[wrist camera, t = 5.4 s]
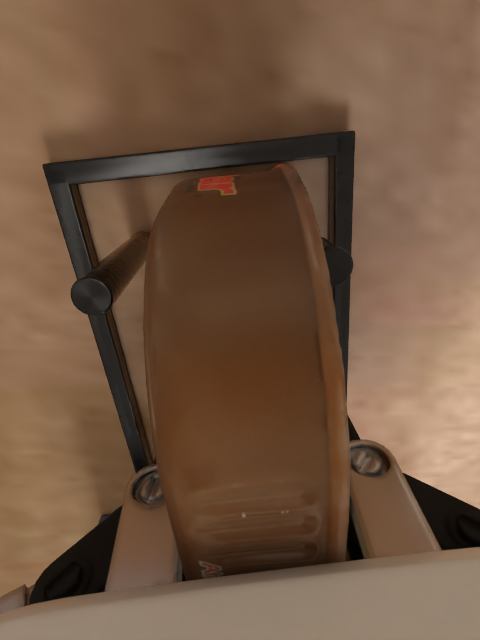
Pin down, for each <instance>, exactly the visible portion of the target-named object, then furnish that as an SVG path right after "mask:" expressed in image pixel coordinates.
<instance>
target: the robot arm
mask: <svg viewBox="0 0 480 640" xmlns="http://www.w3.org/2000/svg"><path fill="white" fill-rule="evenodd" d="M347 416H348V415H347ZM348 428H349V442H350V499H349V524H348V532H347V545H346V557H345V562H337V563H328V564H320V565H312V566H304V567H295V568H287V569H279V570H271V571H263V572H254V573H246V574H238V575H230V576H222V577H214V578H206V579H198V580H191V581H186V579H185V575H184V572H183V568H182V564H181V561H180V557H179V553H178V550H177V546H176V541H175V537H174V534H173V531H172V527H171V523H170V519H169V515H168V511H167V508H166V504H165V500H164V497H163V493H162V488H161V484H160V479H159V474H158V469H157V463H156V456H155V460H154V464H152V465H149V466H147V467H145V468H143V469H141V470H140V471H138V472H137V473H136V474H135V475H134V476H133V477H132V478H131V480H130V481H129V483H128V485H127V488H126V491H125V496H124V501H123V505H122V506H121V507H120V508H118V509H117V510H116V511H115V512H113V513H112V514H111V515H110V516H109V517H107V518H106V519H105V520H104V521H102V522H101V523H100V524H99V525H98V526H96V527H95V528H94V529H93V530H91V531H90V532H89V533H88V534H87V535H85V536H84V537H83V538H82V539H81V540H79V541H78V542H77V543H76V544H74V545H73V546H72V547H71V548H70V549H68V550H67V551H66V552H65V553H63V554H62V555H61V556H60V557H59V558H57V559H56V560H55V561H54V562H53V563H52V564H50V565H49V566H48V567H47V568H46V569H45V570H44V571H43V573H42V574H41V576H40V577H39V579H38V580H37V581H36V583H35V584H34V585H32V586H31V587H29V588H27V587H26V585H25V584H24V585H22V586H20V587H19V588H17V589H15V590H13V591H11V592H9V593H8V594H6V595H4V596H2V597H0V640H480V509H478V508H476V507H474V506H472V505H470V504H467V503H465V502H463V501H461V500H459V499H457V498H455V497H453V496H451V495H449V494H446V493H444V492H442V491H440V490H438V489H436V488H434V487H432V486H430V485H428V484H425V483H423V482H421V481H419V480H417V479H415V478H413V477H411V476H409V475H407V474H404V473H402V471H401V469H400V467H399V465H398V463H397V461H396V459H395V457H394V456H393V455H392V453H391V452H390V451H389V450H388V449H387V448H385V447H384V446H383V445H381V444H379V443H377V442H374V441H370V440H361V439H360V438H359V436H358V434H357V432H356V430H355V428H354V426H353V424H352V422H351V420H350V418H349V417H348Z"/></svg>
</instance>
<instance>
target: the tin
mask: <svg viewBox="0 0 480 640" xmlns="http://www.w3.org/2000/svg"><path fill="white" fill-rule="evenodd" d="M144 353H145V372H146V385H147V395H148V404H149V412H150V420H151V428H152V435H153V442H154V449H155V456H156V463H157V469H158V474H159V479H160V484H161V488H162V493H163V497H164V500H165V504H166V508H167V511H168V515H169V519H170V523H171V527H172V531H173V534H174V537H175V541H176V546H177V550H178V553H179V557H180V561H181V564H182V568H183V572H184V575H185V579H186V581H191V580H198V579H206V578H214V577H222V576H230V575H238V574H246V573H254V572H263V571H271V570H279V569H287V568H295V567H304V566H312V565H320V564H328V563H337V562H345V557H346V545H347V532H348V524H349V499H350V442H349V428H348V416H347V406H346V392H345V375H344V367H343V361H342V351H341V347H340V344H339V334H338V327H337V322H336V313H335V305H334V301H333V296H332V289H331V283H330V276H329V269H328V265H327V261H326V257H325V252H324V248H323V243H322V238H321V234H320V231H319V228H318V225H317V221H316V218H315V215H314V211H313V207H312V203H311V201H310V198H309V195H308V193H307V191H306V188H305V187H304V185H303V183H302V181H301V179H300V176H299V175H298V173H297V172H296V170H294V168H293V167H292V166H291V165H289V164H279V165H277V166H275V167H274V168H273V170H269V171H264V172H256V173H248V174H238V175H228V176H216V177H207V178H199V179H191V180H187V181H183V182H181V183H179V184H178V185H176V186H175V187H174V188H173V190H172V191H171V193H170V194H169V196H168V197H167V199H166V201H165V203H164V204H163V206H162V207H161V209H160V211H159V212H158V214H157V216H156V218H155V221H154V223H153V226H152V230H151V233H150V237H149V242H148V250H147V259H146V267H145V287H144Z"/></svg>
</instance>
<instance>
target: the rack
mask: <svg viewBox="0 0 480 640" xmlns="http://www.w3.org/2000/svg"><path fill="white" fill-rule="evenodd" d="M354 151H355V131H346V132H336V133H327V134H318V135H308V136H299V137H290V138H280V139H271V140H262V141H252V142H243V143H234V144H224V145H215V146H206V147H196V148H187V149H178V150H168V151H159V152H150V153H140V154H131V155H122V156H112V157H103V158H94V159H84V160H75V161H66V162H56V163H47V164H43V169H44V172H45V176H46V179H47V182H48V185H49V189H50V192H51V195H52V199H53V202H54V205H55V208H56V212H57V215H58V218H59V222H60V225H61V228H62V231H63V235H64V238H65V241H66V245H67V248H68V251H69V254H70V258H71V261H72V264H73V268H74V271H75V274H76V277H77V281H76V282H75V283H74V284H73V286H72V288H71V299H72V302H73V304H74V305H75V306H76V308H77V309H79V310H80V311H81V312H83V313H85V314H88V317H89V320H90V323H91V327H92V330H93V333H94V337H95V340H96V343H97V346H98V350H99V353H100V356H101V360H102V363H103V366H104V369H105V373H106V376H107V379H108V383H109V386H110V389H111V392H112V396H113V399H114V402H115V406H116V409H117V412H118V415H119V419H120V422H121V425H122V428H123V432H124V435H125V438H126V442H127V445H128V448H129V451H130V455H131V458H132V461H133V465H134V468H135V471H136V473H137V472H138V471H140V470H141V469H143V468H145V467H147V466H149V465H152V464H153V463H152V459H151V455H150V452H149V448H148V445H147V441H146V437H145V434H144V430H143V426H142V423H141V419H140V415H139V412H138V408H137V404H136V401H135V397H134V393H133V390H132V386H131V382H130V379H129V375H128V371H127V368H126V364H125V360H124V357H123V353H122V349H121V346H120V342H119V338H118V335H117V331H116V328H115V324H114V320H113V317H112V313H111V309H110V308H111V307H112V305H113V304H114V303H115V301H116V300H117V299H118V297H119V296H120V295H121V293H122V292H123V291H124V289H125V288H126V287H127V285H128V284H129V283H130V281H131V280H132V279H133V277H134V276H135V275H136V273H137V272H138V271H139V269H140V268H141V267H142V265H143V264H144V263H145V261H146V259H147V250H148V242H149V237H150V234H149V233H146V232H138V233H136V234H135V235H134V236H132V237H131V238H130V239H129V240H127V241H126V242H125V243H124V244H122V245H121V246H120V247H119V248H117V249H116V250H115V251H114V252H112V253H111V254H110V255H108V256H107V257H106V258H105V259H103V260H102V261H101V262H100V263H98V262H97V258H96V254H95V251H94V247H93V243H92V240H91V236H90V232H89V229H88V225H87V221H86V218H85V214H84V211H83V207H82V203H81V200H80V196H79V192H78V189H77V185H76V184H84V183H94V182H103V181H112V180H121V179H130V178H139V177H148V176H158V175H167V174H176V173H185V172H194V171H203V170H212V169H222V168H231V167H240V166H249V165H258V164H267V163H276V162H286V161H295V160H304V159H313V158H322V157H329V241H328V240H327V239H325V238H323V237H321V238H322V243H323V248H324V252H325V257H326V261H327V265H328V269H329V276H330V283H331V289H332V296H333V301H334V305H335V313H336V322H337V327H338V334H339V344H340V347H341V351H342V361H343V367H344V375H345V392H346V403H347V371H348V339H349V307H350V275H351V273H352V269H353V260H352V257H351V242H352V210H353V178H354Z"/></svg>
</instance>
